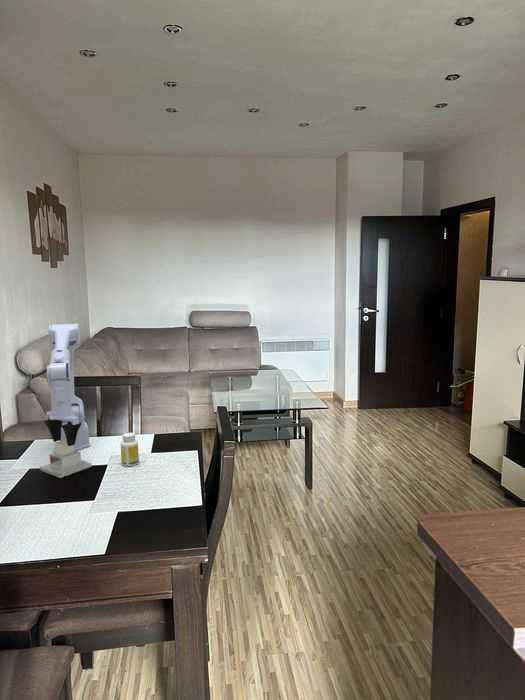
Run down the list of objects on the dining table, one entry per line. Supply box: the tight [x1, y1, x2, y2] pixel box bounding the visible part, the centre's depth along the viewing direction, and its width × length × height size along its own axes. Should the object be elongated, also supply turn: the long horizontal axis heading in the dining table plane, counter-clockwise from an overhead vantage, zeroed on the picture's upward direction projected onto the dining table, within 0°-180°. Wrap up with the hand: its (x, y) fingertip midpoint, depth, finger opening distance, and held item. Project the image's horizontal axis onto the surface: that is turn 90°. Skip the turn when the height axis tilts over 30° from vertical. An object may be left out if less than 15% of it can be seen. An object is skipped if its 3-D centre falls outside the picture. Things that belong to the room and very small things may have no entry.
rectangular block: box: [54, 440, 74, 457], centre depth 155 cm, size 4×4×8 cm
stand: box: [39, 450, 92, 479], centre depth 156 cm, size 11×11×5 cm
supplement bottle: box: [120, 432, 140, 467], centre depth 159 cm, size 5×5×10 cm
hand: (64, 443), depth 155 cm, fingers open, 7 cm apart
